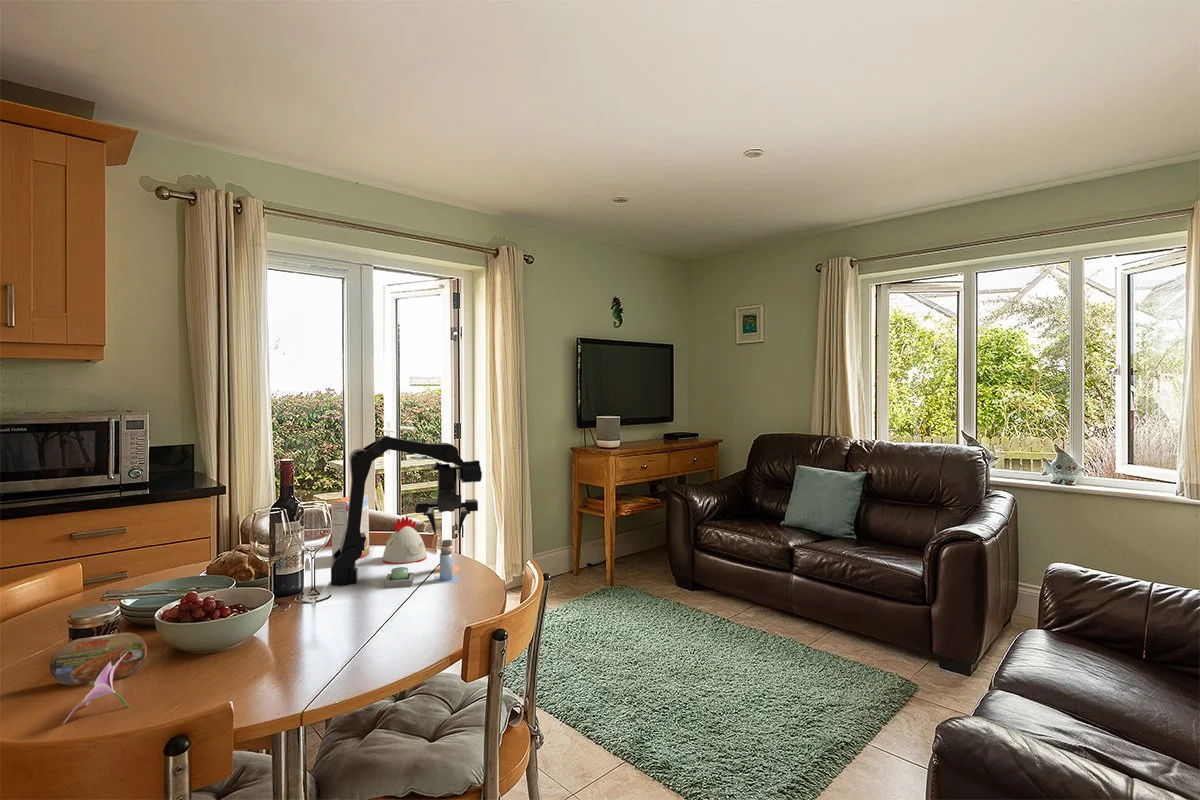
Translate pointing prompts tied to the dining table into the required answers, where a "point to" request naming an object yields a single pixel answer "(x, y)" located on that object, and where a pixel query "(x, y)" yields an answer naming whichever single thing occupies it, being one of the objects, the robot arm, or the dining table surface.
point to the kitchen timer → (404, 544)
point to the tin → (97, 658)
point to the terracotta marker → (448, 545)
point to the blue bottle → (445, 564)
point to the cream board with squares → (409, 581)
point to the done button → (399, 573)
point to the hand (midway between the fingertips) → (447, 533)
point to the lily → (102, 686)
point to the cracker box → (340, 522)
